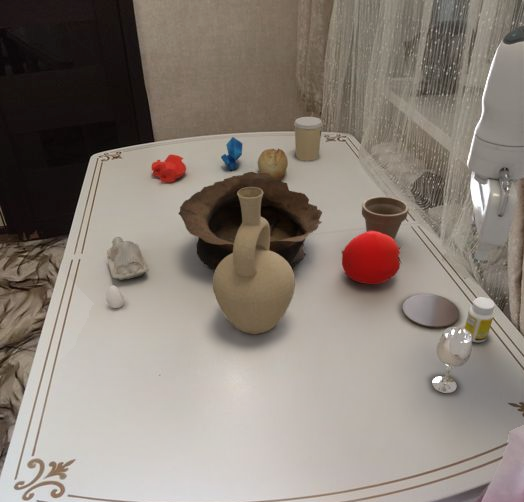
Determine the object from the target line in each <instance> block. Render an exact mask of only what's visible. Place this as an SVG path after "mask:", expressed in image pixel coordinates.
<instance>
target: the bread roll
mask: <svg viewBox="0 0 524 502" xmlns="http://www.w3.org/2000/svg"><path fill="white" fill-rule="evenodd" d="M288 165H289V161H288V157H287V155H286V153H285V152H284V151H283V150H282V149H280V148H277V149H275V148H268V149H264V150H263V151H262V152H261V153H260V155H259V157H258V158H257V167H258V173H269V174H270V175H271V176H273V177H274V178H276V179H277V180H279V181H281V180H282V179H283V177H284V176H285V174H286V173H287V169H288Z"/></svg>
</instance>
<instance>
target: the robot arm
mask: <svg viewBox="0 0 524 502" xmlns="http://www.w3.org/2000/svg"><path fill="white" fill-rule="evenodd" d="M466 166H467V168H468V169H469V170H470V171H471V175H470V193H471V200H472V201H471V202H472V208H473V209H472V217H471V222H470V228H471V230H472V231H474V232H475V231H476V236H477V242H478V243H477V244H476V246H475V251H474V259H475V260H476V261H482V262H486V261H487V260H488V259H489V255H490V252H491V250H492V249H493V248H494V247H498V248H499V247H504V245H505V244H506V243H507V241H508V238H509V235H510V231H511V228H512V224H513V221H514V216H515V213H516V209H517V203H518V193H517V188H516V186H517V185H518V184H519V183H520V180H522V179H524V25H521V26H518V27H515V28H514V29H513V30H510V31H509V32H508V33H506V34H505V36H503V38H502V40H501V41H500V43H499V45H498V47H497V49H496V51H495V53H494V56H493V59H492V61H491V65H490V68H489V72H488V75H487V78H486V81H485V86H484V90H483V93H482V99H481V115H480V118H479V121H478V122H477V124H476V126H475V129H474V132H473V136H472V140H471V144H470V150H469V153H468V158H467V162H466Z"/></svg>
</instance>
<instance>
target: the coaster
mask: <svg viewBox="0 0 524 502" xmlns="http://www.w3.org/2000/svg"><path fill="white" fill-rule="evenodd" d="M401 310H402V314H403V315H404V317H405V318H406V319H407V321H410V322H411V323H412V324H415V325H417V326H419V327H422V328H426V329H435V330H436V329H437V330H439V329H447V328H450V327H452V326H454V325H455V324H456V322H458V320H459V317H460V310H459V307H458V306H457V305H456V304H455V303H454V302H453V301H451V300H449V299H448V298H446V297H443V296H440V295H437V294H432V293H420V294H419V293H418V294H414V295H412V296H409V297H408V298H407V299H405V300H404V302H403V303H402V307H401Z"/></svg>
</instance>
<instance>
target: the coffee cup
mask: <svg viewBox="0 0 524 502" xmlns="http://www.w3.org/2000/svg"><path fill="white" fill-rule="evenodd" d="M293 126H294V143H295V157H296V159H297V160H300V161H303V162H310V161H315V160H317V159H318V158H319V154H320V145H321V137H322V128H323V122H322V119H321V118H319V117H315V116H303V117H298V118H296V119H295V121H294V123H293Z"/></svg>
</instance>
